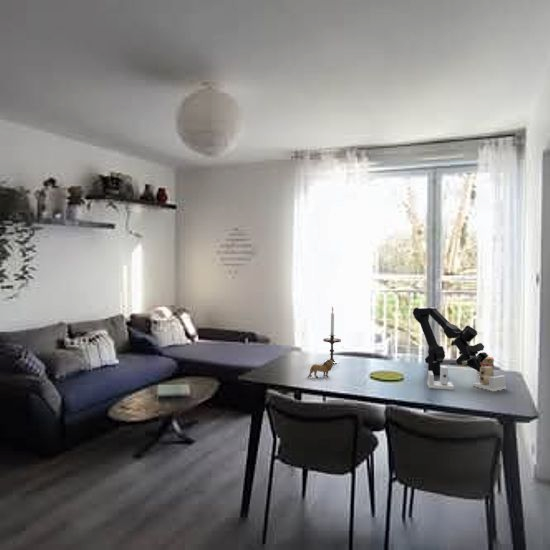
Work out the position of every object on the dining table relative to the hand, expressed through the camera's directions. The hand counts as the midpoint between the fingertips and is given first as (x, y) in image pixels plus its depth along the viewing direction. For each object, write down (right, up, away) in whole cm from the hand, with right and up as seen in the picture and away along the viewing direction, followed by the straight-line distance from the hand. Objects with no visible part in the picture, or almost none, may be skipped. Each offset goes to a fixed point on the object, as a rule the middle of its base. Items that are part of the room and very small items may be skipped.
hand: (481, 372), depth 244 cm
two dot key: (+1, -5, -2) cm, 6 cm away
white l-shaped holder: (+2, -7, -4) cm, 8 cm away
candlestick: (-70, -5, +55) cm, 89 cm away
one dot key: (-20, -5, -3) cm, 21 cm away
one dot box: (-22, -7, -2) cm, 23 cm away
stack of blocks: (+11, -7, +21) cm, 25 cm away
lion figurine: (-80, -6, +16) cm, 82 cm away
